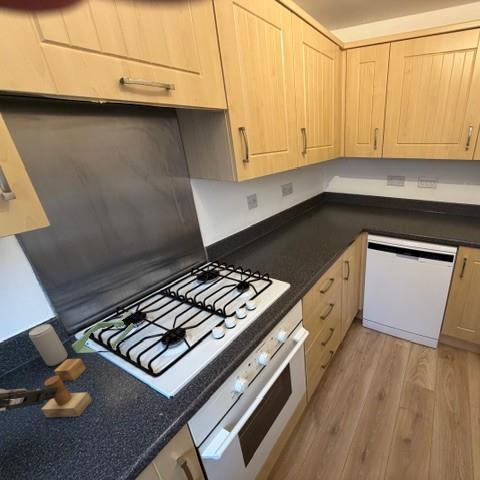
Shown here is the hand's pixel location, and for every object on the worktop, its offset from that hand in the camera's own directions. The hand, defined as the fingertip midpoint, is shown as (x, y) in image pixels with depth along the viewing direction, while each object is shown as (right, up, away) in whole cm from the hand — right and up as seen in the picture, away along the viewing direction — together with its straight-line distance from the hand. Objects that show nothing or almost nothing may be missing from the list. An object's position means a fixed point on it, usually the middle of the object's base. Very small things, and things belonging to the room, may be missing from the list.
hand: (35, 393), depth 57 cm
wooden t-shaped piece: (+1, -8, +7) cm, 11 cm away
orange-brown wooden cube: (-7, -5, +17) cm, 19 cm away
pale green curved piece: (-8, +2, +32) cm, 33 cm away
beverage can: (-17, -3, +22) cm, 28 cm away
